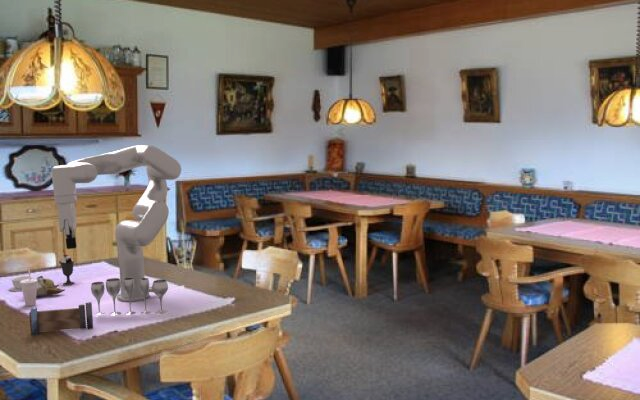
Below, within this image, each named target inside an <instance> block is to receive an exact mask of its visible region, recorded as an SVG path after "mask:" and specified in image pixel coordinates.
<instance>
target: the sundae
mask: <svg viewBox="0 0 640 400" xmlns="http://www.w3.org/2000/svg"><path fill="white" fill-rule="evenodd" d="M62 252H65V251H64V249H62ZM74 262H75V259H72V258H71V256H69V255H68V254H66V253H64V254H63V257H62V259H61V260H60V261H58V263H59V264H60V266H61V270H62V271H61V272H62V274H63V275H64V276H65V277H66V281H65V282H63V283H62V285H63V286H71V285H75V281H71V279H70V276H71V275H72V274H73V271H74Z"/></svg>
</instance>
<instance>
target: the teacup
mask: <svg viewBox="0 0 640 400" xmlns="http://www.w3.org/2000/svg"><path fill="white" fill-rule="evenodd" d="M26 279H29V275H28V276H27V275H24V276H16V277H12V279H11V281H12V285H13V286H11V287H10V288H9V291H12V292H13V291H15V292H20V291H22V287H21V285H20V281H22V280H26ZM31 279H33V278H32V277H31Z"/></svg>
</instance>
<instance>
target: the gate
mask: <svg viewBox="0 0 640 400" xmlns="http://www.w3.org/2000/svg"><path fill="white" fill-rule="evenodd" d="M28 314H29V317H28V318H29V326H30V327H29V329H30V333H32V321H31V311H29V312H28ZM37 315H38V327H39V333H43V332H55V331H67V330H78V329H81V330H83V329H87V319H86V304H79V305H78V307H75V308H73V307H72V308H62V309H61V308H60V309H47V310H37Z"/></svg>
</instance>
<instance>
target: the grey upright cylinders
mask: <svg viewBox="0 0 640 400" xmlns="http://www.w3.org/2000/svg"><path fill="white" fill-rule="evenodd" d="M84 305H85V317H86V330H93V329H94V321H93V319H94V318H93V317H94V316H93V304H92V302H85V304H84ZM37 311H38V308H37V307H31V308H30V312H31V321H32V336H38V335H40V332H39V327H38V315H37Z"/></svg>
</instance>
